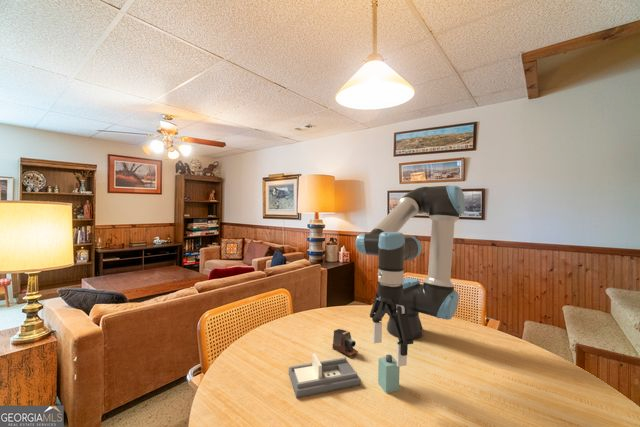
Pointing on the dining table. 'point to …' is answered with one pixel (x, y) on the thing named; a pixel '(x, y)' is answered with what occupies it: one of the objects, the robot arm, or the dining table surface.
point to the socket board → (326, 378)
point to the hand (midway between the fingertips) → (388, 353)
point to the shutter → (309, 371)
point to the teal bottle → (388, 374)
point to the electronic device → (344, 342)
